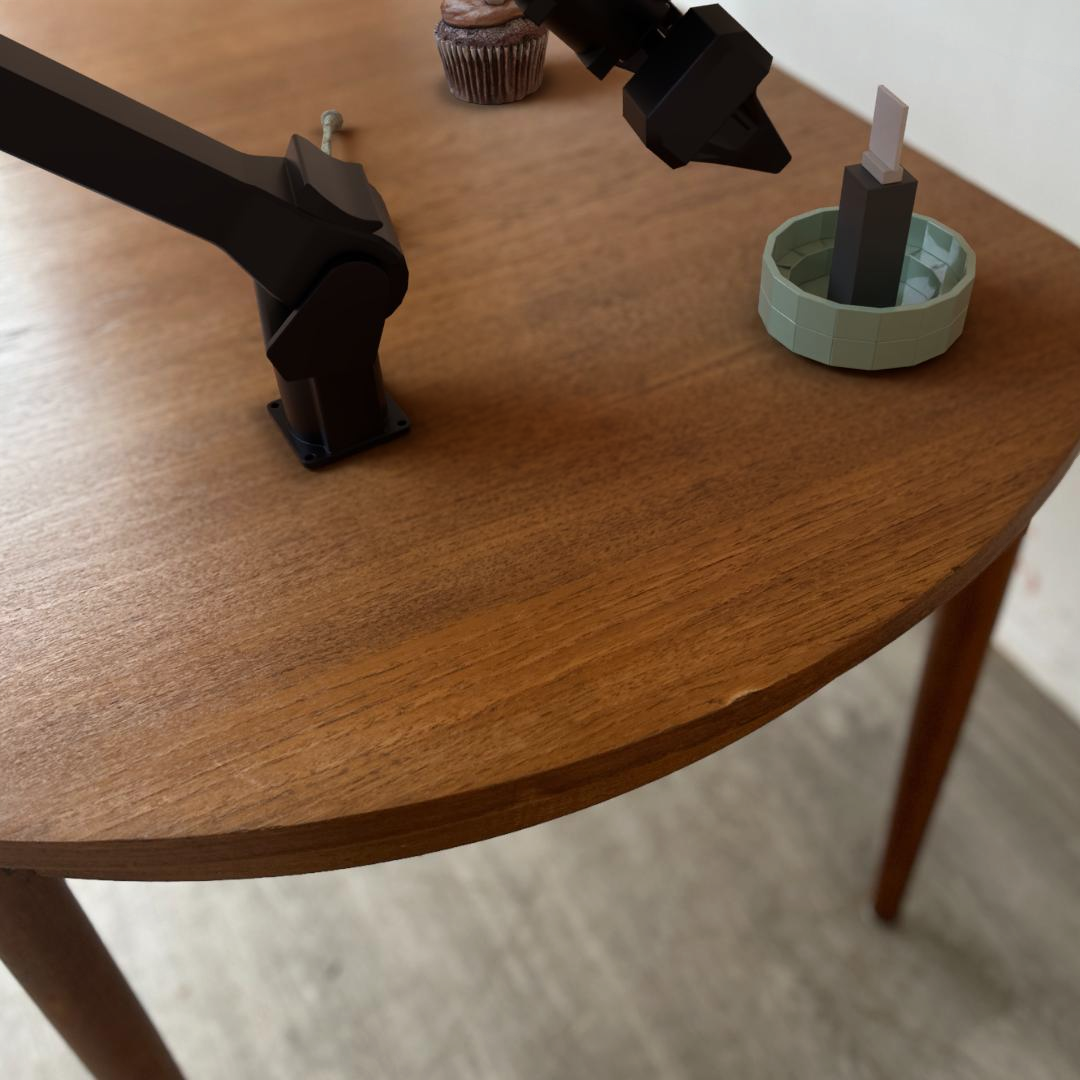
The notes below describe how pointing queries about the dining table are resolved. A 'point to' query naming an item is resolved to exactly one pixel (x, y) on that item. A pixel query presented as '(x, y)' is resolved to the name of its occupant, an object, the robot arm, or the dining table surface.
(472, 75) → the cupcake
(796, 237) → the bowl
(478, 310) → the dining table surface
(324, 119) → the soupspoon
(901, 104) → the scraper
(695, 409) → the dining table surface
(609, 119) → the dining table surface
